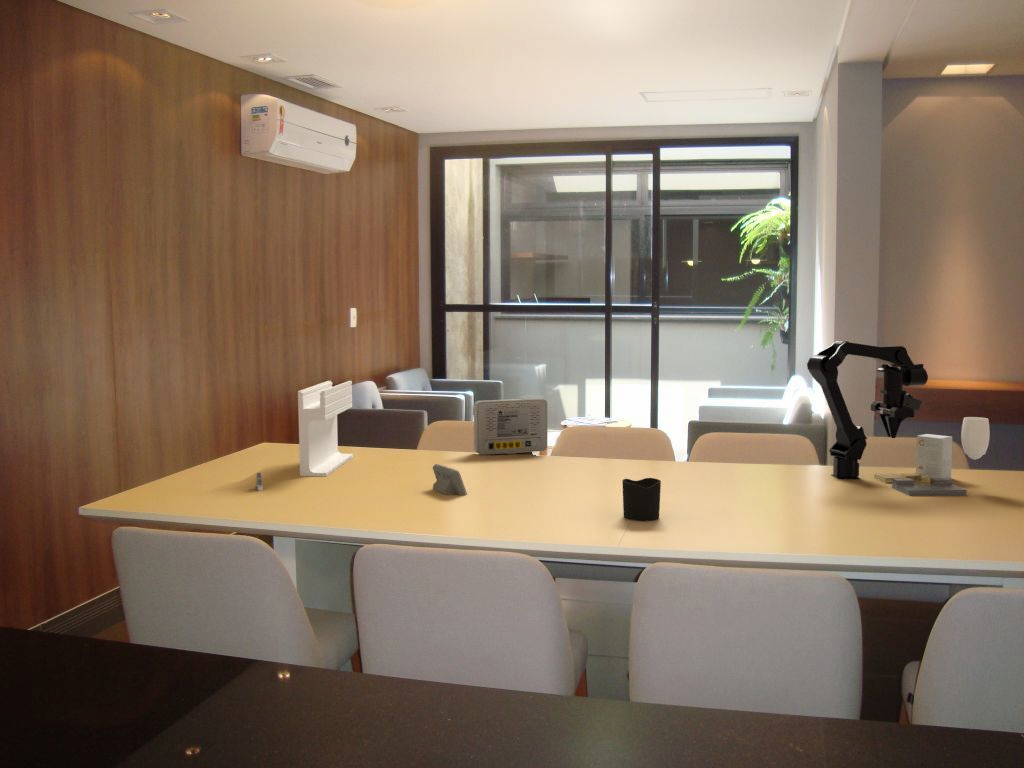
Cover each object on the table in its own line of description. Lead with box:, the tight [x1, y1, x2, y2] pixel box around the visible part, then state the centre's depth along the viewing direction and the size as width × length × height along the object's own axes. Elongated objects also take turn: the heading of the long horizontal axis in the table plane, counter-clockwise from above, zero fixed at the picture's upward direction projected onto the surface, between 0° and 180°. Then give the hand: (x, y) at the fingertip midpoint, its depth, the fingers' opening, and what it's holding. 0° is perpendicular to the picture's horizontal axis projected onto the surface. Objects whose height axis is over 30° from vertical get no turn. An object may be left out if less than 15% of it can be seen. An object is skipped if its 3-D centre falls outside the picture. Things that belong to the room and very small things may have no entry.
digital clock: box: [432, 463, 468, 496], centre depth 262 cm, size 14×8×9 cm, turn 20°
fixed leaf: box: [891, 478, 968, 497], centre depth 266 cm, size 16×11×3 cm
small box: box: [915, 433, 953, 479], centre depth 287 cm, size 8×6×13 cm
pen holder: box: [622, 477, 662, 522], centre depth 235 cm, size 9×9×10 cm
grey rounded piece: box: [960, 416, 991, 460], centre depth 268 cm, size 7×7×21 cm
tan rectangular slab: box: [873, 472, 932, 485], centre depth 281 cm, size 14×11×3 cm
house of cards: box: [247, 472, 264, 492], centre depth 263 cm, size 9×9×8 cm
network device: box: [473, 397, 548, 456], centre depth 329 cm, size 26×9×20 cm, turn 108°
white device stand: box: [297, 380, 354, 477], centre depth 300 cm, size 35×8×28 cm, turn 176°
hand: (891, 437), depth 291 cm, fingers closed
